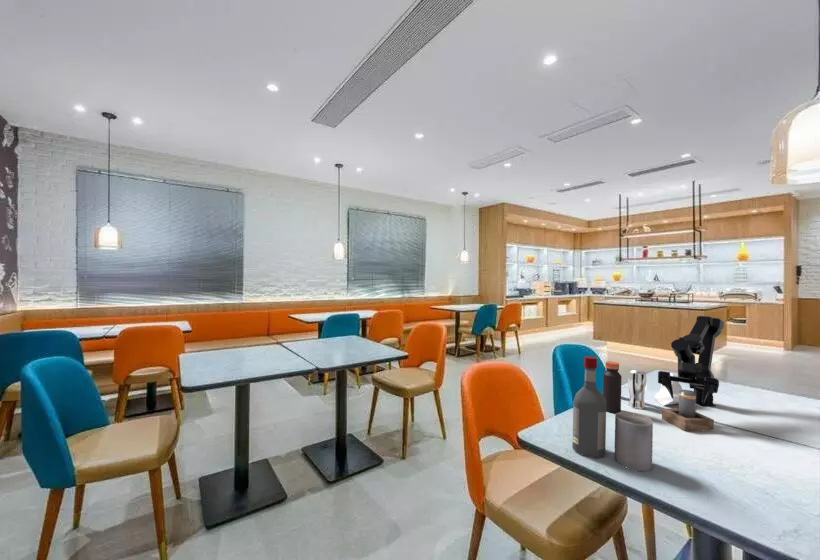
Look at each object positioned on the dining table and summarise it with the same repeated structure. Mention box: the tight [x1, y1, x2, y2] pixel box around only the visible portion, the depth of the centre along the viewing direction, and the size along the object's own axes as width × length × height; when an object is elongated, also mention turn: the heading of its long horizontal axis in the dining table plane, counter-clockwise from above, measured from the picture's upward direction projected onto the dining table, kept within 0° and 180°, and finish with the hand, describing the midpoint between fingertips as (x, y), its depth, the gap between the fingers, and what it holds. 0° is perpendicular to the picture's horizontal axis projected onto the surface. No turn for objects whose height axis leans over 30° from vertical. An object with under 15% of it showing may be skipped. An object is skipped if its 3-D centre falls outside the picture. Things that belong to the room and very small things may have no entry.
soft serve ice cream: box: [654, 372, 683, 407], centre depth 159 cm, size 12×15×14 cm
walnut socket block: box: [661, 408, 715, 432], centre depth 136 cm, size 11×11×4 cm
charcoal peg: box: [678, 389, 697, 418], centre depth 136 cm, size 5×5×12 cm
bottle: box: [602, 361, 623, 414], centre depth 149 cm, size 7×7×20 cm
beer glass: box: [627, 369, 648, 410], centre depth 154 cm, size 7×7×15 cm
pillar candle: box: [613, 411, 654, 472], centre depth 107 cm, size 10×10×15 cm
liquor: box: [571, 355, 607, 459], centre depth 114 cm, size 9×9×30 cm
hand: (687, 400), depth 136 cm, fingers open, 9 cm apart
